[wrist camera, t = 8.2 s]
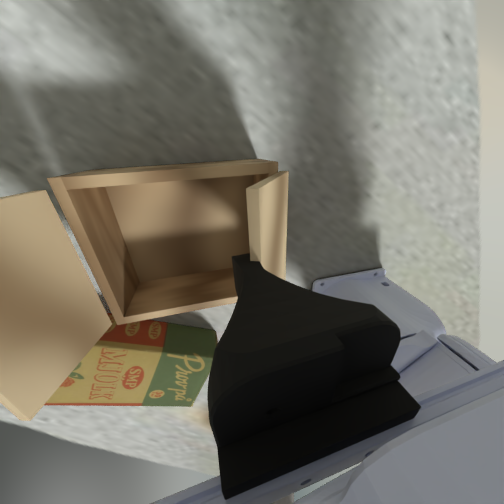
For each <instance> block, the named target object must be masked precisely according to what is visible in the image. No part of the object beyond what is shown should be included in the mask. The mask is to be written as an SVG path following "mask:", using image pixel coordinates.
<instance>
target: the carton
mask: <svg viewBox="0 0 504 504" xmlns="http://www.w3.org/2000/svg"><path fill="white" fill-rule="evenodd" d="M107 315H108V317H109V319H110V321H111V323H112V325H111V326H110V327H109V328H108V330H107V331H106V332H105V333H104V334H103V336H102V337H101V338H100V339H99V340H98V341H97V343H96V344H95V345H94V346H93V347H92V349H91V350H90V351H89V352H88V353H87V354H86V356H85V357H84V358H83V359H82V360H81V362H80V363H79V364H78V365H77V366H76V367H75V369H74V370H73V371H72V372H71V373H70V375H69V376H68V377H67V378H66V379H65V381H64V382H63V383H62V384H61V385H60V386H59V388H58V389H57V390H56V391H55V392H54V394H53V395H52V396H51V397H50V398H49V399H48V401H47V402H46V403H45V404H44V405H78V406H79V405H101V406H187V407H191V406H193V403H194V401H195V399H196V397H197V396H198V394H199V392H200V390H201V388H202V386H203V384H204V382H205V381H206V379H207V377H208V375H209V373H210V370H211V365H212V360H213V356H214V351H215V348H216V346H217V344H218V341H217V334H216V331H214V330H209V329H203V328H197V327H190V326H184V325H178V324H172V323H166V322H161V321H154V320H148V319H147V320H142V321H137V322H132V323H126V324H121V325H117V323H116V321H115V319H114V317H113V315H112V313H107Z"/></svg>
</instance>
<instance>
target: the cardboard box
mask: <svg viewBox="0 0 504 504" xmlns="http://www.w3.org/2000/svg"><path fill="white" fill-rule="evenodd" d="M276 173H278V162H275V161H269V160H262V159H246V160H231V161H216V162H201V163H186V164H171V165H156V166H141V167H126V168H111V169H96V170H89V171H83V172H78V173H73V174H67V175H62V176H57V177H51V178H47V180H48V182H49V184H50V186H51V188H52V190H53V192H54V194H55V196H56V198H57V200H58V203H59V205H60V207H61V209H62V211H63V213H64V215H65V217H66V219H67V221H68V223H69V225H70V228H71V230H72V232H73V234H74V236H75V238H76V240H77V242H78V244H79V246H80V248H81V250H82V252H83V255H84V257H85V259H86V261H87V263H88V265H89V267H90V269H91V271H92V273H93V275H94V277H95V279H96V282H97V284H98V286H99V288H100V290H101V292H102V294H103V296H104V298H105V300H106V302H107V304H108V306H109V309H110V311H111V313H112V315H113V317H114V319H115V321H116V323H117V325H121V324H126V323H132V322H137V321H142V320H147V319H153V318H158V317H163V316H169V315H174V314H179V313H184V312H190V311H195V310H200V309H205V308H211V307H216V306H221V305H227V304H232V303H236V302H237V299H238V296H237V293H236V289H235V282H234V273H233V265H232V257H231V256H236V255H242V254H247V253H250V246H249V230H248V213H247V197H246V188H248V187H250V186H252V185H254V184H256V183H258V182H260V181H262V180H264V179H266V178H268V177H270V176H272V175H274V174H276Z"/></svg>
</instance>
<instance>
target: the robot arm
mask: <svg viewBox="0 0 504 504" xmlns="http://www.w3.org/2000/svg"><path fill="white" fill-rule="evenodd" d="M231 257H232V265H233V273H234V282H235V289H236V293H237V296H238V299H237V302H236V306H235V309H234V311H233V314H232V316H231V319H230V321H229V323H228V325H227V328H226V330H225V332H224V333H223V335H222V337H221V339H220V341H219V342H218V344H217V346H216V348H215V351H214V356H213V360H212V365H211V370H210V376H209V383H208V409H209V420H210V425H211V428H212V431H213V434H214V438H215V441H216V444H217V448H218V458H219V468H220V476H217V477H215V478H212V479H210V480H207V481H205V482H202V483H200V484H198V485H195V486H193V487H190V488H188V489H185V490H183V491H180V492H178V493H175V494H173V495H170V496H168V497H166V498H163V499H160V500H158V501H156V502H153V503H151V504H271V503H273V502H275V501H277V500H279V499H281V498H284V497H286V496H288V495H290V494H292V493H294V492H297V491H299V490H301V489H303V488H305V487H308V486H310V485H312V484H314V483H316V482H318V481H320V480H323V479H325V478H327V477H329V476H331V475H334V474H336V473H338V472H340V471H342V470H344V469H347V468H349V467H351V466H353V465H355V464H358V463H360V462H362V463H361V464H360V465H358V466H357V467H355V468H353V469H351V470H349V471H348V472H346V473H344V474H342V475H340V476H339V477H337V478H335V479H333V480H332V481H330V482H328V483H326V484H324V485H323V486H321V487H320V488H318V489H316V490H314V491H312V492H311V493H309V494H307V495H305V496H304V497H302V498H300V499H299V500H297V501H296V502H293V503H292V504H504V360H503V361H500V362H498V363H496V362H495V361H494V360H492V359H491V358H489V357H488V356H487V355H485V354H484V353H482V352H481V351H480V350H478V349H477V348H475V347H474V346H472V345H471V344H469V343H468V342H466V341H465V340H463V339H461V338H459V337H457V336H453V335H446V330H445V327H444V325H443V323H442V322H441V320H440V319H439V317H438V316H437V315H436V313H435V312H434V311H433V310H432V309H431V308H430V307H428V306H427V305H426V304H424V303H423V302H421V301H420V300H419V299H417V298H416V297H414V296H413V295H411V294H410V293H408V292H407V291H405V290H404V289H402V288H401V287H400V286H398V285H397V284H395V283H394V282H392V281H391V280H389V279H388V278H386V277H385V274H386V270H385V269H384V268H379V269H374V270H368V271H363V272H357V273H352V274H346V275H341V276H335V277H330V278H324V279H319V280H316V281H314V283H313V288H312V291H311V290H308V289H305V288H302V287H299V286H297V285H294V284H292V283H290V282H287V281H285V280H283V279H281V278H279V277H277V276H275V275H274V274H272V273H270V272H268V271H267V270H265V269H264V268H263V266H262V265H261V263H260V261H250V253H247V254H242V255H236V256H231ZM321 283H322V284H321Z"/></svg>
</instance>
